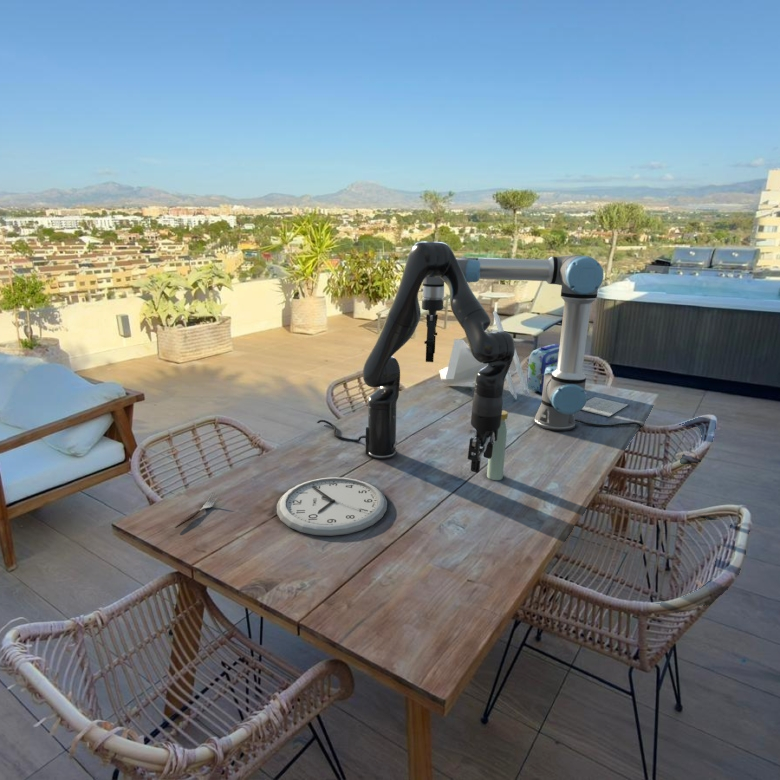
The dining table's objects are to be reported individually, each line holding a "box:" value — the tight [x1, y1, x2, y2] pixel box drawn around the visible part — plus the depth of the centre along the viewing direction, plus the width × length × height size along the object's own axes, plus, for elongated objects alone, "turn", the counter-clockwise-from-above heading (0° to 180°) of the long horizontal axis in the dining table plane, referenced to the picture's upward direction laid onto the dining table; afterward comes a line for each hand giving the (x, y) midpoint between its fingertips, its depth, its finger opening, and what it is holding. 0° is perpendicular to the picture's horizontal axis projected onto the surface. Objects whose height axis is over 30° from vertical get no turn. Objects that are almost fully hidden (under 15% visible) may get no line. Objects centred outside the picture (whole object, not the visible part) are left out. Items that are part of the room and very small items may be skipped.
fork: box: [174, 492, 220, 529], centre depth 137 cm, size 3×16×2 cm, turn 160°
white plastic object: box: [438, 310, 531, 400], centre depth 245 cm, size 37×45×31 cm
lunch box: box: [526, 343, 560, 394], centre depth 247 cm, size 26×11×21 cm, turn 134°
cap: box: [501, 409, 509, 421], centre depth 155 cm, size 4×4×2 cm
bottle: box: [486, 419, 508, 481], centre depth 158 cm, size 5×5×21 cm
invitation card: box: [580, 396, 629, 418], centre depth 226 cm, size 21×1×15 cm
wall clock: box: [276, 476, 388, 537], centre depth 142 cm, size 30×2×30 cm
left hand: (481, 464), depth 139 cm, fingers open, 8 cm apart
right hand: (430, 357), depth 190 cm, fingers open, 13 cm apart
